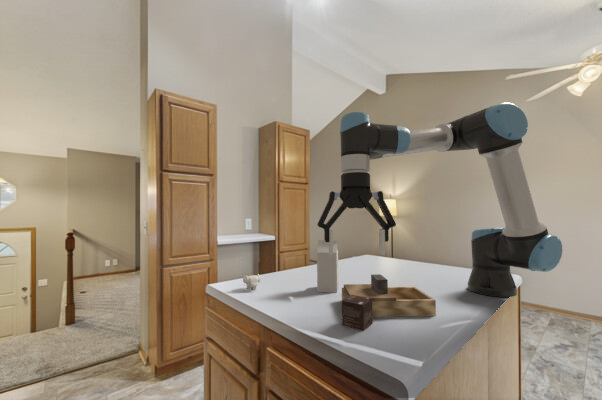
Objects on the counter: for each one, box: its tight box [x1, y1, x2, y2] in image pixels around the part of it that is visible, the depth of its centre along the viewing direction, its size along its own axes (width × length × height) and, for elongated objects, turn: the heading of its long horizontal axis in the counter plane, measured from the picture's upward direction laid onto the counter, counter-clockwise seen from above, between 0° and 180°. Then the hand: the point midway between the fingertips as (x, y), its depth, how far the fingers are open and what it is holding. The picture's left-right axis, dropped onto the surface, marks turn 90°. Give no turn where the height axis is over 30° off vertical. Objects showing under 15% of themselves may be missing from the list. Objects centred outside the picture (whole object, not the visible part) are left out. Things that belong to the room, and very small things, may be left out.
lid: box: [343, 274, 396, 301], centre depth 87 cm, size 12×15×5 cm
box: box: [341, 295, 373, 332], centre depth 74 cm, size 6×6×7 cm
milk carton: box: [316, 239, 339, 293], centre depth 107 cm, size 7×7×19 cm
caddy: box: [341, 286, 437, 317], centre depth 87 cm, size 24×14×5 cm, turn 91°
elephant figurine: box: [242, 273, 261, 291], centre depth 111 cm, size 7×8×6 cm
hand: (356, 254), depth 75 cm, fingers open, 13 cm apart
